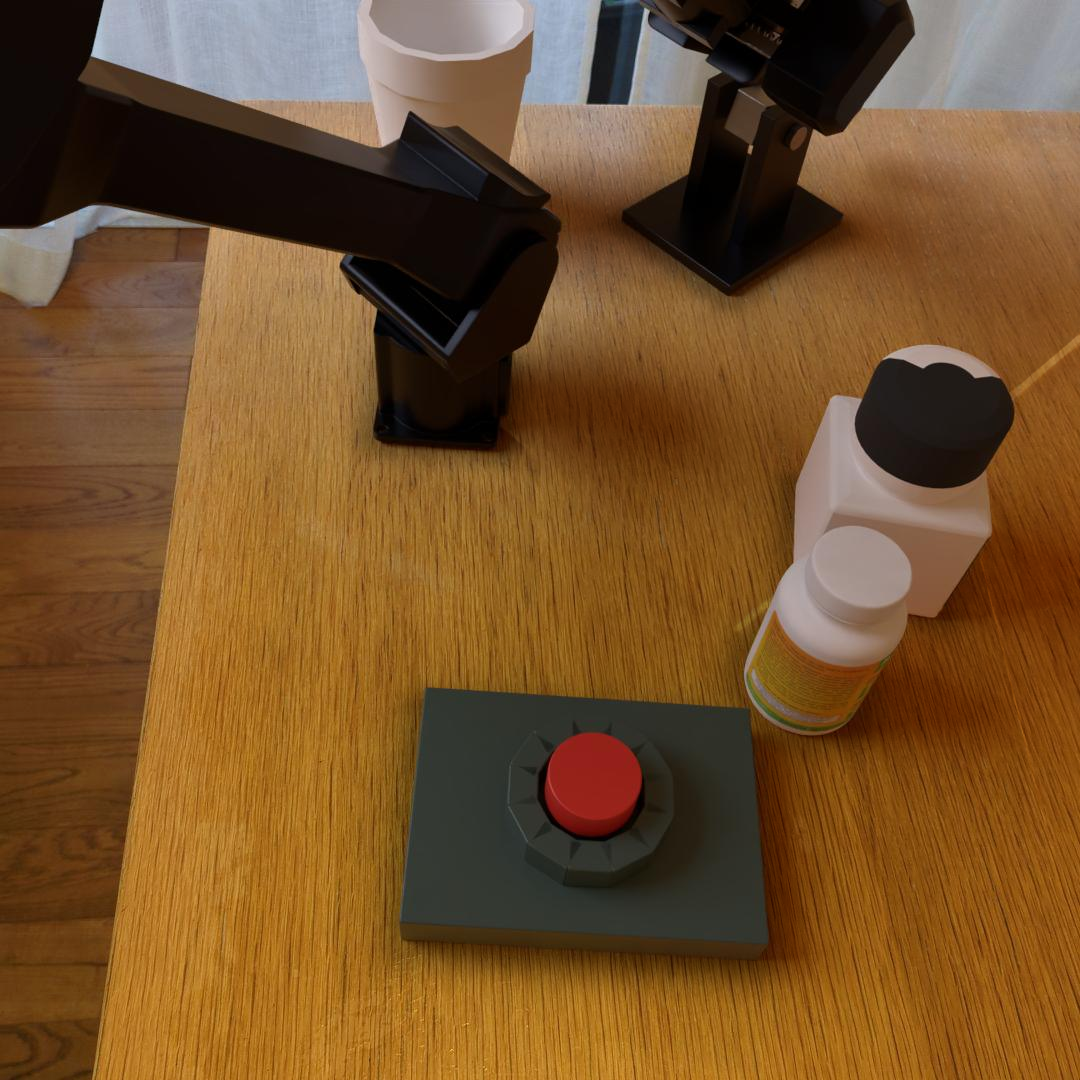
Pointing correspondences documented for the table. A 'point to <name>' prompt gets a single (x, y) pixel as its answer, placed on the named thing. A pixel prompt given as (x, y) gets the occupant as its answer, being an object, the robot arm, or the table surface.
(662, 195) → the bracket
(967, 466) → the medicine bottle
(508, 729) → the button block
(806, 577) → the supplement bottle
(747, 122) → the lever
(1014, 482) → the table surface
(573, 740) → the button
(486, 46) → the white flower pot
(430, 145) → the robot arm
